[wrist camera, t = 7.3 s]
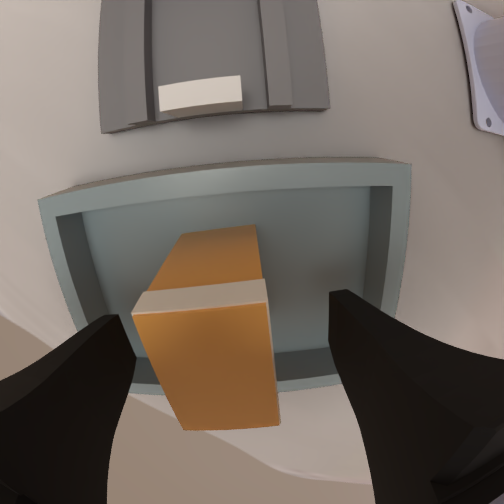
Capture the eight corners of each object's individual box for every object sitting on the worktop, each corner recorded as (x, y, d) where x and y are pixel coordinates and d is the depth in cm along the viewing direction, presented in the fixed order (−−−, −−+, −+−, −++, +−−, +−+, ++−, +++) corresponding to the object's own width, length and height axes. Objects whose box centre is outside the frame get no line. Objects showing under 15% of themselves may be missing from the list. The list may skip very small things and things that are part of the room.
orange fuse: (256, 222, 12) (268, 302, 6) (267, 319, 13) (281, 426, 8) (180, 232, 12) (129, 314, 6) (201, 325, 13) (182, 430, 8)
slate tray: (378, 157, 11) (411, 164, 9) (362, 342, 15) (379, 376, 12) (72, 186, 11) (37, 199, 9) (121, 357, 15) (106, 390, 12)
